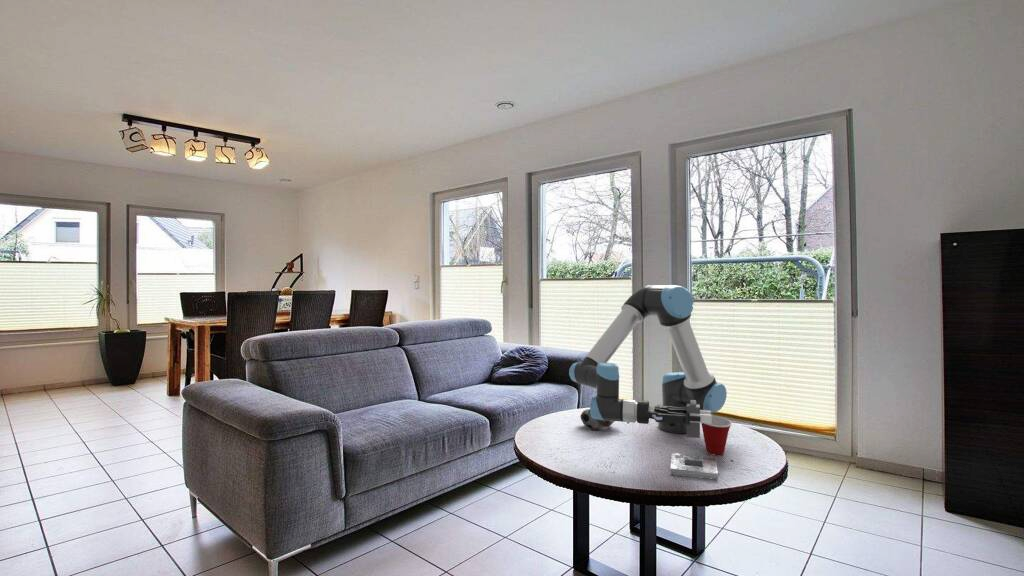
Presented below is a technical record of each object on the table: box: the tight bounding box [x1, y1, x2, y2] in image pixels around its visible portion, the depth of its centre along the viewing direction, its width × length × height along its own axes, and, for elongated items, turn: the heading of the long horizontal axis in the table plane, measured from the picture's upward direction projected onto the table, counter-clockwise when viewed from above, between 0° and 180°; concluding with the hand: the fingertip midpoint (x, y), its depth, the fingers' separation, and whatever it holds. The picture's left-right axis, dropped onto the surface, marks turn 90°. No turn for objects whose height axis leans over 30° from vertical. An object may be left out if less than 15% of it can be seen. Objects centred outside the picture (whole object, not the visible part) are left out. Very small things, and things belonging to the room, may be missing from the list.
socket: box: [670, 452, 719, 480], centre depth 165 cm, size 14×14×3 cm
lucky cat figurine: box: [580, 408, 615, 432], centre depth 211 cm, size 15×12×14 cm
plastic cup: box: [700, 415, 733, 456], centre depth 180 cm, size 11×11×12 cm
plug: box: [686, 400, 701, 439], centre depth 165 cm, size 4×4×12 cm
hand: (710, 417), depth 163 cm, fingers closed on plug, 4 cm apart
